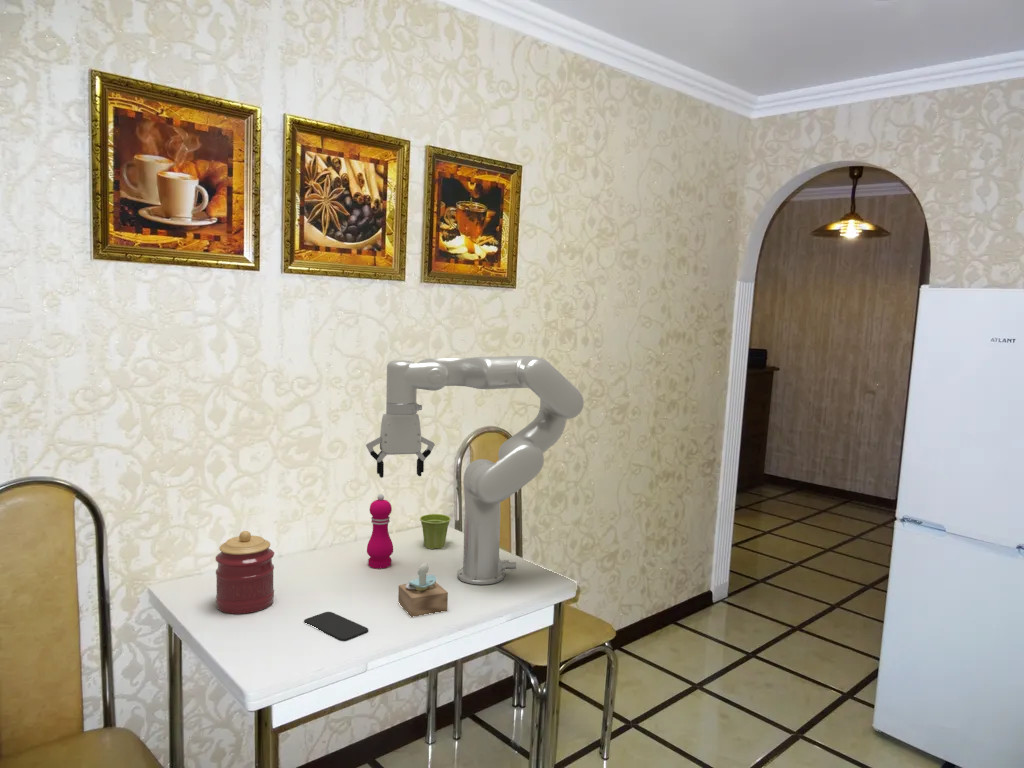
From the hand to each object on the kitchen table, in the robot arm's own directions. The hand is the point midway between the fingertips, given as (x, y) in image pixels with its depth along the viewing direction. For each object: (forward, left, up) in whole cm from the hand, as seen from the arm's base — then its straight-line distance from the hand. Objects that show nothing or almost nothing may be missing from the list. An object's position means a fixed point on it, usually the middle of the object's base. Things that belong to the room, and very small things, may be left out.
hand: (400, 475), depth 184 cm
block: (-3, +16, -29) cm, 33 cm away
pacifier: (-3, +16, -24) cm, 29 cm away
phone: (+17, +23, -29) cm, 41 cm away
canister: (+37, +5, -28) cm, 47 cm away
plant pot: (-15, -28, -28) cm, 43 cm away
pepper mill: (+3, -15, -28) cm, 32 cm away
